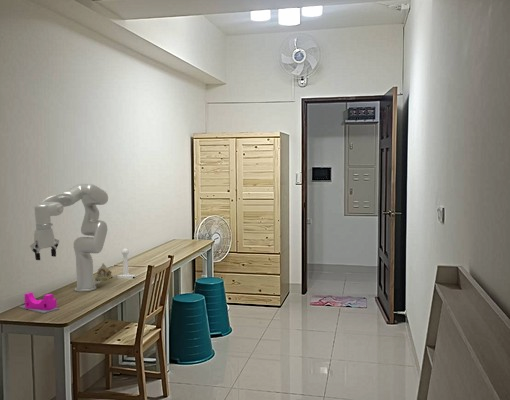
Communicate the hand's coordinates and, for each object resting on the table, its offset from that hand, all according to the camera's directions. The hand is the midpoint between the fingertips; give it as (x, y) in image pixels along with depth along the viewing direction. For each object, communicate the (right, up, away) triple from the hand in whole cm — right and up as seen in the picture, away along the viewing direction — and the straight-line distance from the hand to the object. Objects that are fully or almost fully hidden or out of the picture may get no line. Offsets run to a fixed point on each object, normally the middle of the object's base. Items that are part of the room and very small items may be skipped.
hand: (46, 258), depth 297 cm
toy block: (+2, -25, -11) cm, 27 cm away
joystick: (+29, -20, +62) cm, 72 cm away
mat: (0, -25, -10) cm, 27 cm away
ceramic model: (+14, -20, +63) cm, 68 cm away
